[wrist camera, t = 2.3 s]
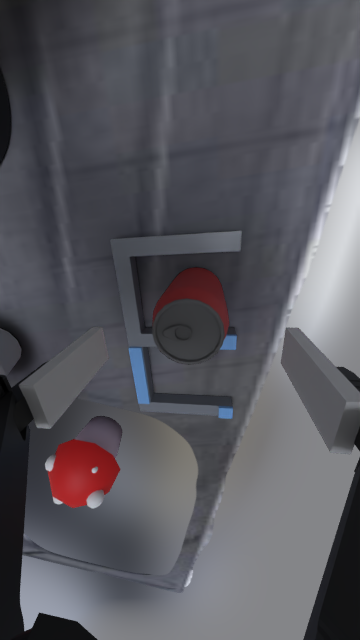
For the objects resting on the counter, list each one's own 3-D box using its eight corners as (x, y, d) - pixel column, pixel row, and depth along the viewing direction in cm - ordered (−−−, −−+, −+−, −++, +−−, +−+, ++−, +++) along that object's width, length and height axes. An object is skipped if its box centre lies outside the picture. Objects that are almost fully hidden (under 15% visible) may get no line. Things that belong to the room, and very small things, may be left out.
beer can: (169, 266, 26) (140, 292, 15) (223, 265, 25) (234, 291, 14) (172, 315, 28) (149, 368, 17) (221, 316, 27) (229, 372, 16)
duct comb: (116, 238, 25) (108, 239, 23) (239, 230, 23) (242, 230, 21) (143, 401, 35) (139, 413, 33) (230, 406, 33) (232, 418, 31)
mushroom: (74, 434, 41) (25, 507, 30) (84, 397, 37) (31, 467, 26) (123, 454, 42) (93, 533, 31) (140, 420, 37) (111, 498, 26)
